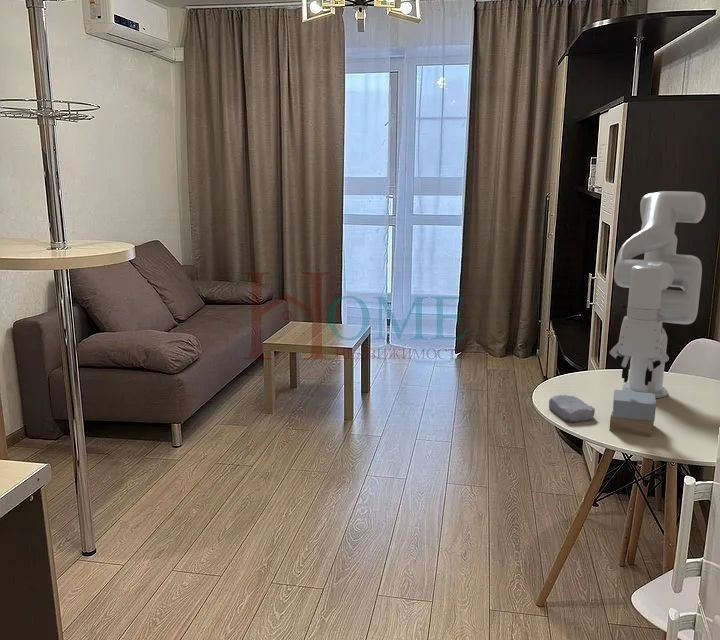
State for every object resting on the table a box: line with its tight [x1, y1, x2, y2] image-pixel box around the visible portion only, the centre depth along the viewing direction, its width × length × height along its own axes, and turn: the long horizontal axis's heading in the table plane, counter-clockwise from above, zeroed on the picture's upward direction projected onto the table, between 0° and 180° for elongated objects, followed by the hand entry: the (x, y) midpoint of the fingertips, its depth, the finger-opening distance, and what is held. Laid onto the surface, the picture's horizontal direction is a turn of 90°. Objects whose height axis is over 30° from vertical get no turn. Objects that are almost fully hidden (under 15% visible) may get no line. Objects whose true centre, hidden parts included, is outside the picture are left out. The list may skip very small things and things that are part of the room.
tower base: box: [608, 410, 655, 438], centre depth 184 cm, size 9×10×4 cm
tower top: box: [612, 389, 657, 422], centre depth 183 cm, size 9×10×4 cm
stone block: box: [548, 394, 596, 423], centre depth 194 cm, size 12×5×10 cm
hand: (636, 381), depth 181 cm, fingers open, 4 cm apart
